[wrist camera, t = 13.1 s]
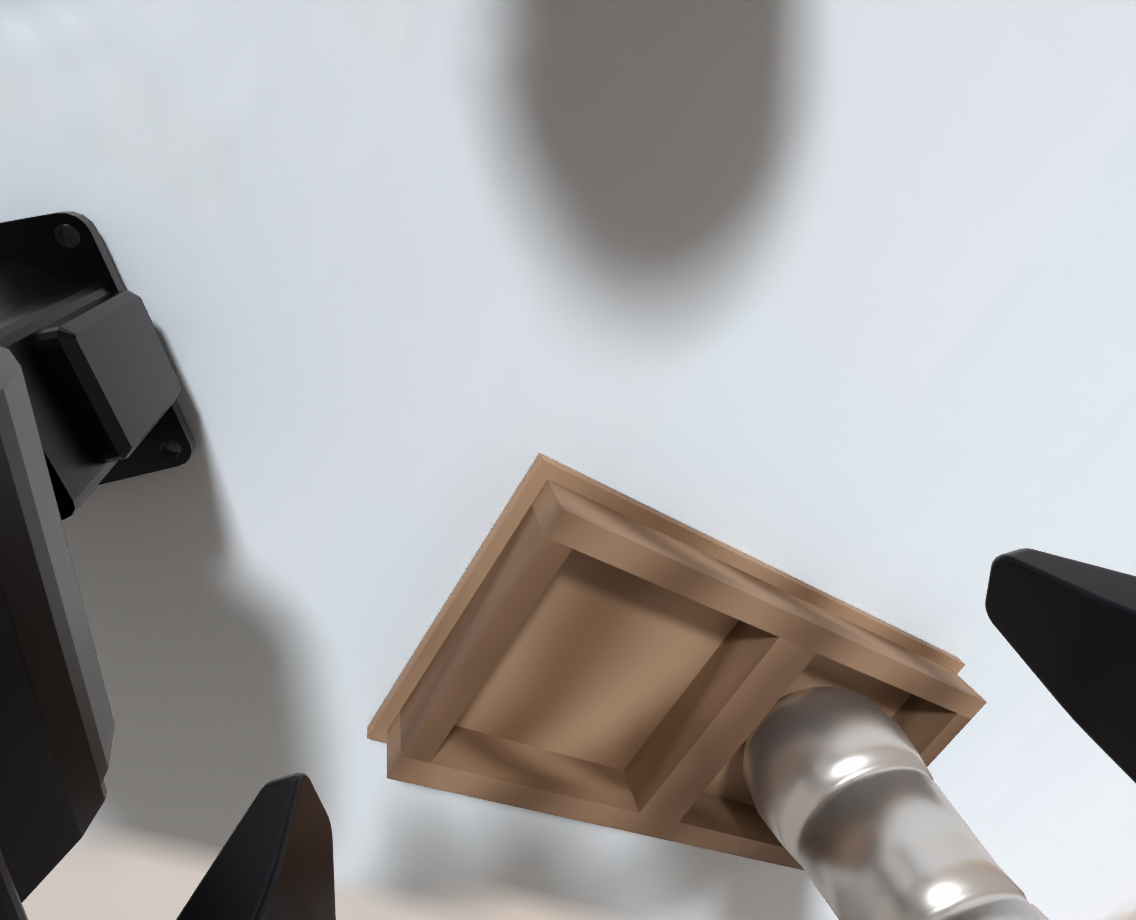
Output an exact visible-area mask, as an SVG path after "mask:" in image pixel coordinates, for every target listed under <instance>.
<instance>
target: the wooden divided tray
mask: <svg viewBox="0 0 1136 920" xmlns="http://www.w3.org/2000/svg"><path fill="white" fill-rule="evenodd" d="M964 666H965V664H964V663H963V662H962V661H961V660H960V659H958V658H957V657H956V656H954V655H952V654H949V653H947V652H945V651H943V650H941V649H939V648H937V647H935V646H933V645H931V644H929V643H927V642H925V641H923V640H921V639H919V638H917V637H915V636H913V635H911V634H909V633H906V632H904V631H902V630H900V629H898V628H896V627H894V626H892V625H890V624H888V623H886V622H884V621H882V620H880V619H878V618H876V617H874V616H872V615H870V614H868V613H866V612H864V611H861V610H859V609H857V608H855V607H853V606H851V605H849V604H847V603H845V602H843V601H841V600H839V599H837V598H835V597H833V596H831V595H829V594H827V593H825V592H823V591H821V590H818V589H816V588H814V587H812V586H810V585H808V584H806V583H804V582H802V581H800V580H798V579H796V578H794V577H792V576H790V575H788V574H786V573H784V572H782V571H780V570H778V569H776V568H773V567H771V566H769V565H767V564H765V563H763V562H761V561H759V560H757V559H755V558H753V557H751V556H749V555H747V554H745V553H743V552H741V551H739V550H737V549H735V548H733V547H730V546H728V545H726V544H724V543H722V542H720V541H718V540H716V539H714V538H712V537H710V536H708V535H706V534H704V533H702V532H700V531H698V530H696V529H694V528H692V527H690V526H688V525H685V524H683V523H681V522H679V521H677V520H675V519H673V518H671V517H669V516H667V515H665V514H663V513H661V512H659V511H657V510H655V509H653V508H651V507H649V506H647V505H645V504H642V503H640V502H638V501H636V500H634V499H632V498H630V497H628V496H626V495H624V494H622V493H620V492H618V491H616V490H614V489H612V488H610V487H608V486H606V485H604V484H602V483H600V482H597V481H595V480H593V479H591V478H589V477H587V476H585V475H583V474H581V473H579V472H577V471H575V470H573V469H571V468H569V467H567V466H565V465H563V464H561V463H559V462H557V461H554V460H552V459H550V458H548V457H546V456H544V455H542V454H540V453H539V455H538V456H537V458H536V459H535V461H534V463H533V464H532V466H531V467H530V469H529V471H528V472H527V474H526V475H525V477H524V478H523V480H522V482H521V483H520V485H519V486H518V488H517V490H516V491H515V493H514V494H513V496H512V498H511V499H510V501H509V502H508V504H507V506H506V507H505V509H504V510H503V512H502V514H501V515H500V517H499V518H498V520H497V522H496V523H495V525H494V526H493V528H492V529H491V531H490V533H489V534H488V536H487V537H486V539H485V541H484V542H483V544H482V545H481V547H480V549H479V550H478V552H477V553H476V555H475V557H474V558H473V560H472V561H471V563H470V565H469V566H468V568H467V569H466V571H465V573H464V574H463V576H462V577H461V579H460V581H459V582H458V584H457V585H456V587H455V588H454V590H453V592H452V593H451V595H450V596H449V598H448V600H447V601H446V603H445V604H444V606H443V608H442V609H441V611H440V612H439V614H438V616H437V617H436V619H435V620H434V622H433V624H432V625H431V627H430V628H429V630H428V632H427V633H426V635H425V636H424V638H423V639H422V641H421V643H420V644H419V646H418V647H417V649H416V651H415V652H414V654H413V655H412V657H411V659H410V660H409V662H408V663H407V665H406V667H405V668H404V670H403V671H402V673H401V675H400V676H399V678H398V679H397V681H396V683H395V684H394V686H393V687H392V689H391V691H390V692H389V694H388V695H387V697H386V698H385V700H384V702H383V703H382V705H381V706H380V708H379V710H378V711H377V713H376V714H375V716H374V718H373V719H372V721H371V722H370V724H369V726H368V728H367V738H369V739H373V740H377V741H382V742H386V743H387V778H389V779H393V780H398V781H402V782H407V783H412V784H416V785H421V786H425V787H430V788H434V789H439V790H443V791H448V792H452V793H457V794H461V795H466V796H470V797H475V798H479V799H484V800H488V801H493V802H498V803H502V804H507V805H511V806H516V807H520V808H525V809H529V810H534V811H538V812H543V813H547V814H552V815H556V816H561V817H565V818H570V819H574V820H579V821H584V822H588V823H593V824H597V825H602V826H606V827H611V828H615V829H620V830H624V831H629V832H633V833H638V834H642V835H647V836H651V837H656V838H660V839H665V840H670V841H674V842H679V843H683V844H688V845H692V846H697V847H701V848H706V849H710V850H715V851H719V852H724V853H728V854H733V855H737V856H742V857H746V858H751V859H756V860H760V861H765V862H769V863H774V864H778V865H783V866H787V867H792V868H796V869H801V870H804V869H803V867H802V866H801V865H800V864H799V863H798V862H797V861H796V860H795V859H794V858H793V857H792V855H791V854H790V853H789V852H788V851H787V850H786V849H785V847H784V846H783V845H782V844H781V843H780V842H779V840H778V839H777V838H776V836H775V835H774V834H773V832H772V831H771V830H770V828H769V827H768V826H767V824H766V823H765V822H764V820H763V819H762V818H761V816H760V815H759V814H758V812H757V809H756V806H755V804H754V801H753V799H752V796H751V793H750V791H749V788H748V785H747V782H746V780H745V777H744V774H743V758H744V748H745V743H746V739H747V738H748V737H749V735H750V734H751V733H752V732H753V731H754V729H755V728H756V727H757V726H758V724H759V723H760V722H761V721H762V720H763V718H764V717H765V716H766V715H767V713H768V712H769V711H770V710H771V709H772V707H773V706H774V705H775V704H776V703H777V702H778V701H780V700H782V699H783V698H785V697H787V696H789V695H791V694H793V693H795V692H798V691H801V690H805V689H808V688H813V687H834V688H839V689H843V690H847V691H851V692H855V693H857V694H860V695H862V696H864V697H866V698H867V699H868V700H869V701H871V702H872V703H873V704H874V705H876V706H877V707H878V708H879V709H881V710H882V711H883V712H884V713H885V714H887V715H888V716H889V717H890V718H892V719H893V720H894V721H895V722H896V723H897V724H898V725H899V726H900V728H901V729H902V730H903V732H904V733H905V735H906V736H907V738H908V739H909V740H910V742H911V743H912V745H913V746H914V748H915V749H916V750H917V752H918V753H919V755H920V757H921V758H922V760H923V762H924V764H925V765H926V767H928V765H929V764H930V763H931V762H932V761H933V760H934V759H935V758H936V757H937V756H938V755H939V754H940V752H941V751H942V750H943V749H944V748H945V747H946V746H947V745H948V744H949V743H950V742H951V741H952V739H953V738H954V737H955V736H956V735H957V734H958V733H959V732H960V731H961V730H962V729H963V728H964V726H965V725H966V724H967V723H968V722H969V721H970V720H971V719H972V718H973V717H974V716H975V715H976V713H977V712H978V711H979V710H980V709H981V708H982V707H983V706H984V705H985V704H986V703H987V702H986V701H985V700H984V699H983V698H982V697H981V696H980V695H979V694H977V693H976V692H975V691H974V690H973V689H972V688H971V687H970V686H969V685H968V684H967V683H965V682H964V681H963V680H962V679H961V678H960V677H959V676H958V675H957V673H958V672H959V671H960V670H961V669H962V668H963V667H964Z"/></svg>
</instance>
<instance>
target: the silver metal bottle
mask: <svg viewBox="0 0 1136 920" xmlns="http://www.w3.org/2000/svg"><path fill="white" fill-rule="evenodd" d="M743 774H744V777H745V780H746V782H747V785H748V788H749V791H750V793H751V796H752V799H753V801H754V804H755V806H756V809H757V812H758V814H759V815H760V816H761V818H762V819H763V820H764V822H765V823H766V824H767V826H768V827H769V828H770V830H771V831H772V832H773V834H774V835H775V836H776V838H777V839H778V840H779V842H780V843H781V844H782V845H783V846H784V847H785V849H786V850H787V851H788V852H789V853H790V854H791V855H792V857H793V858H794V859H795V860H796V861H797V862H798V863H799V864H800V865H801V866H802V867H803V869H804V870H805V871H806V873H807V874H808V876H809V877H810V879H811V880H812V882H813V883H814V884H815V886H816V887H817V889H818V890H819V892H820V893H821V895H822V896H823V897H824V899H825V900H826V902H827V903H828V905H829V906H830V907H831V909H832V910H833V912H834V913H835V915H836V916H837V918H838V919H839V920H1049V919H1048V918H1047V917H1046V916H1045V915H1044V914H1043V913H1042V912H1041V911H1040V910H1039V909H1038V908H1037V907H1036V906H1034V905H1033V904H1030V903H1029V902H1028V901H1027V899H1026V897H1025V895H1024V893H1023V892H1022V890H1021V889H1020V888H1019V887H1018V886H1017V885H1016V884H1015V883H1014V882H1013V881H1012V880H1011V879H1010V878H1009V877H1008V876H1007V875H1006V873H1005V872H1004V871H1003V870H1002V869H1001V868H1000V867H999V866H998V865H997V864H996V862H995V861H994V860H993V858H992V857H991V856H990V854H989V853H988V852H987V850H986V849H985V848H984V846H983V845H982V844H981V843H980V841H979V840H978V839H977V837H976V836H975V835H974V833H973V832H972V831H971V829H970V828H969V827H968V825H967V824H966V823H965V821H964V820H963V819H962V817H961V816H960V815H959V813H958V812H957V811H956V810H955V808H954V807H953V806H952V804H951V803H950V802H949V800H948V799H947V798H946V796H945V795H944V794H943V792H942V791H941V790H940V788H939V787H938V786H937V784H936V783H935V782H934V781H933V778H932V776H931V774H930V772H929V770H928V769H927V767H926V765H925V764H924V762H923V760H922V758H921V757H920V755H919V753H918V752H917V750H916V749H915V748H914V746H913V745H912V743H911V742H910V740H909V739H908V738H907V736H906V735H905V733H904V732H903V730H902V729H901V728H900V726H899V725H898V724H897V723H896V722H895V721H894V720H893V719H892V718H890V717H889V716H888V715H887V714H885V713H884V712H883V711H882V710H881V709H879V708H878V707H877V706H876V705H874V704H873V703H872V702H871V701H869V700H868V699H867V698H866V697H864V696H862V695H860V694H857V693H855V692H851V691H847V690H843V689H839V688H834V687H813V688H808V689H805V690H801V691H798V692H795V693H793V694H791V695H789V696H787V697H785V698H783V699H782V700H780V701H778V702H777V703H776V704H775V705H774V706H773V707H772V709H771V710H770V711H769V712H768V713H767V715H766V716H765V717H764V718H763V720H762V721H761V722H760V723H759V724H758V726H757V727H756V728H755V729H754V731H753V732H752V733H751V734H750V735H749V737H748V738H747V739H746V743H745V748H744V758H743Z"/></svg>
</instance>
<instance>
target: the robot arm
mask: <svg viewBox="0 0 1136 920" xmlns="http://www.w3.org/2000/svg"><path fill="white" fill-rule="evenodd" d="M65 224H68V225H70V226H72V227H74V228H76V230H77V231H78V232H79V233H80V238H81V240H80V242H79V245H73V244H71V243H69V242H67V241H66V240H65V238H64V237H63V235H62V228H63V226H64V225H65ZM181 390H182V389H181V385H180V383H179V381H178V379H177V376H176V374H175V372H174V370H173V368H172V365H171V363H170V361H169V359H168V357H167V354H166V352H165V350H164V348H163V346H162V343H161V341H160V339H159V337H158V334H157V332H156V330H155V328H154V326H153V323H152V321H151V319H150V317H149V315H148V312H147V310H146V308H145V306H144V304H143V301H142V299H141V298H140V297H139V296H137V295H136V294H134V293H132V292H130V291H128V290H125V288H124V286H123V284H122V282H121V280H120V278H119V275H118V273H117V271H116V269H115V267H114V265H113V262H112V260H111V258H110V256H109V254H108V252H107V249H106V247H105V245H104V243H103V241H102V239H101V236H100V234H99V232H98V230H97V228H96V227H95V225H94V224H93V223H92V221H90V220H89V219H88V218H86V217H85V216H84V215H82V214H79V213H76V212H67V211H64V212H58V213H53V214H47V215H41V216H36V217H30V218H25V219H19V220H13V221H8V222H2V223H0V920H28V918H27V916H26V913H25V911H24V908H23V906H22V902H23V901H24V900H25V899H26V898H27V896H28V895H29V894H30V893H31V892H32V891H33V890H34V889H35V888H36V887H37V886H38V885H39V884H40V882H41V881H42V880H43V879H44V878H45V877H46V876H47V875H48V874H49V873H50V872H51V871H52V869H53V868H54V867H55V866H56V865H57V864H58V863H59V862H60V861H61V860H62V859H63V857H64V856H65V855H66V854H67V853H68V852H69V851H70V850H71V849H72V848H73V847H74V845H75V844H76V843H77V842H78V841H79V840H80V839H81V838H82V836H83V835H84V833H85V831H86V830H87V828H88V827H89V825H90V823H91V822H92V820H93V818H94V817H95V815H96V814H97V812H98V810H99V809H100V807H101V805H102V804H103V802H104V801H105V797H106V792H107V791H106V787H105V784H104V780H103V779H104V777H105V774H106V772H107V770H108V766H109V759H110V752H111V745H112V739H113V732H114V721H113V717H112V713H111V709H110V706H109V702H108V698H107V694H106V690H105V686H104V683H103V679H102V675H101V671H100V667H99V663H98V660H97V656H96V652H95V648H94V644H93V640H92V637H91V633H90V629H89V625H88V621H87V617H86V614H85V610H84V606H83V602H82V598H81V594H80V590H79V587H78V583H77V579H76V575H75V571H74V567H73V564H72V560H71V556H70V552H69V548H68V544H67V541H66V537H65V533H64V529H63V525H62V521H61V520H63V519H66V518H68V517H70V516H71V515H72V514H73V513H74V512H75V511H76V510H77V509H78V507H79V506H80V505H81V504H82V503H83V502H84V500H85V499H86V498H87V497H88V496H89V494H90V493H91V492H92V491H93V490H94V489H95V487H96V486H97V485H100V484H104V483H108V482H113V481H117V480H121V479H125V478H129V477H134V476H138V475H142V474H146V473H150V472H155V471H159V470H163V469H167V468H171V467H176V466H179V465H182V464H184V463H186V462H187V460H188V459H189V458H190V457H191V455H192V454H193V452H194V449H195V441H194V438H193V436H192V434H191V431H190V429H189V427H188V425H187V423H186V421H185V418H184V416H183V414H182V412H181V410H180V408H179V405H178V403H177V401H176V399H177V397H178V396H179V394H180V392H181ZM165 441H174V442H176V443H178V444H179V445H180V447H181V451H180V452H172V451H170V450H168V449H167V448H166V447H165V445H164V442H165ZM985 606H986V611H987V614H988V616H989V618H990V620H991V621H992V623H993V624H994V625H995V627H996V628H997V629H998V630H999V631H1000V633H1001V634H1002V635H1003V636H1004V637H1005V639H1006V640H1007V641H1008V642H1009V643H1010V645H1011V646H1012V647H1013V648H1014V649H1015V651H1016V652H1017V653H1018V654H1019V655H1020V657H1021V658H1022V659H1023V660H1024V661H1025V663H1026V664H1027V665H1028V666H1029V667H1030V669H1031V670H1032V671H1033V672H1034V674H1035V675H1036V676H1037V677H1038V678H1039V680H1040V681H1041V682H1042V683H1043V684H1044V686H1045V687H1046V688H1047V689H1048V690H1049V692H1050V693H1051V694H1052V695H1053V696H1054V698H1055V699H1056V700H1057V701H1058V702H1059V704H1060V705H1061V706H1062V707H1063V708H1064V709H1065V710H1066V712H1067V713H1068V714H1069V715H1070V716H1071V717H1072V718H1073V720H1074V721H1075V722H1076V723H1077V724H1078V725H1079V726H1080V727H1081V728H1082V729H1083V730H1084V731H1085V732H1086V733H1087V734H1088V735H1089V736H1090V737H1091V738H1092V740H1093V741H1094V742H1095V743H1096V744H1097V745H1098V746H1099V747H1100V748H1101V749H1102V750H1103V751H1104V752H1105V753H1106V754H1107V755H1108V756H1109V757H1110V758H1111V759H1112V760H1113V761H1114V762H1115V763H1116V764H1117V765H1118V766H1119V767H1120V768H1121V769H1122V770H1123V771H1124V772H1125V773H1126V774H1127V775H1128V776H1129V777H1130V778H1131V779H1132V780H1133V781H1134V782H1135V783H1136V576H1132V575H1128V574H1125V573H1121V572H1117V571H1113V570H1109V569H1106V568H1102V567H1098V566H1094V565H1090V564H1087V563H1083V562H1079V561H1075V560H1072V559H1068V558H1064V557H1060V556H1056V555H1053V554H1049V553H1045V552H1041V551H1037V550H1034V549H1027V548H1024V549H1018V550H1015V551H1012V552H1009V553H1005V554H1002V555H999V556H998V557H996V558H995V559H994V561H993V562H992V566H991V571H990V577H989V583H988V589H987V595H986V601H985ZM176 920H336V916H335V890H334V864H333V839H332V829H331V824H330V821H329V817H328V815H327V813H326V811H325V809H324V807H323V805H322V803H321V801H320V799H319V797H318V795H317V793H316V791H315V789H314V787H313V785H312V783H311V781H310V779H309V778H308V776H307V775H305V774H304V773H295V774H292V775H289V776H285V777H282V778H279V779H276V780H273V781H270V782H268V783H267V784H266V785H265V786H264V787H263V788H262V789H261V790H260V792H259V793H258V795H257V796H256V798H255V800H254V801H253V803H252V804H251V806H250V807H249V809H248V810H247V812H246V813H245V815H244V816H243V818H242V819H241V821H240V823H239V824H238V826H237V827H236V829H235V830H234V832H233V833H232V835H231V836H230V838H229V839H228V841H227V842H226V844H225V846H224V847H223V849H222V850H221V852H220V853H219V855H218V856H217V858H216V859H215V861H214V862H213V864H212V865H211V867H210V869H209V870H208V872H207V873H206V875H205V876H204V878H203V879H202V881H201V882H200V884H199V886H198V887H197V888H196V890H195V892H194V893H193V895H192V896H191V898H190V899H189V901H188V902H187V904H186V906H185V907H184V908H183V910H182V912H181V913H180V915H179V916H178V918H177V919H176Z"/></svg>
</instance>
